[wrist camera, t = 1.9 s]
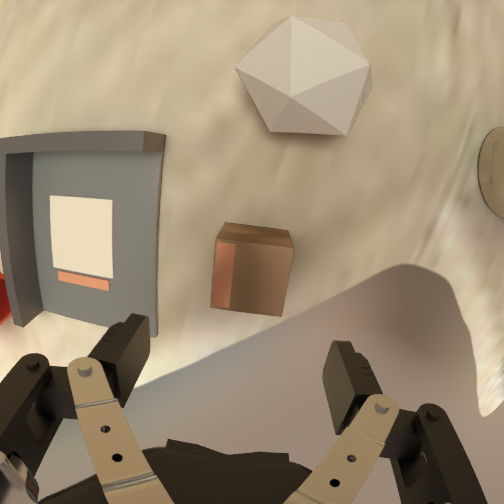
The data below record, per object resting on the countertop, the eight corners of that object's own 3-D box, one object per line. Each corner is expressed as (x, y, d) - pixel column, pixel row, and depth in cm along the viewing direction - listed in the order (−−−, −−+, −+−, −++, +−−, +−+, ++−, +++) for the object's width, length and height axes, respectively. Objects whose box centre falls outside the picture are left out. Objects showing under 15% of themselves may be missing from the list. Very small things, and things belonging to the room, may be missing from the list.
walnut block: (287, 230, 24) (294, 248, 20) (278, 287, 26) (281, 317, 21) (224, 222, 24) (215, 238, 20) (219, 279, 26) (209, 307, 21)
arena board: (165, 134, 22) (144, 131, 18) (157, 334, 28) (142, 362, 23) (29, 137, 22) (-3, 138, 18) (37, 305, 28) (14, 324, 23)
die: (271, 157, 23) (378, 166, 16) (191, 83, 18) (291, 43, 10) (316, 89, 24) (414, 81, 17) (254, 17, 19) (353, -23, 11)
